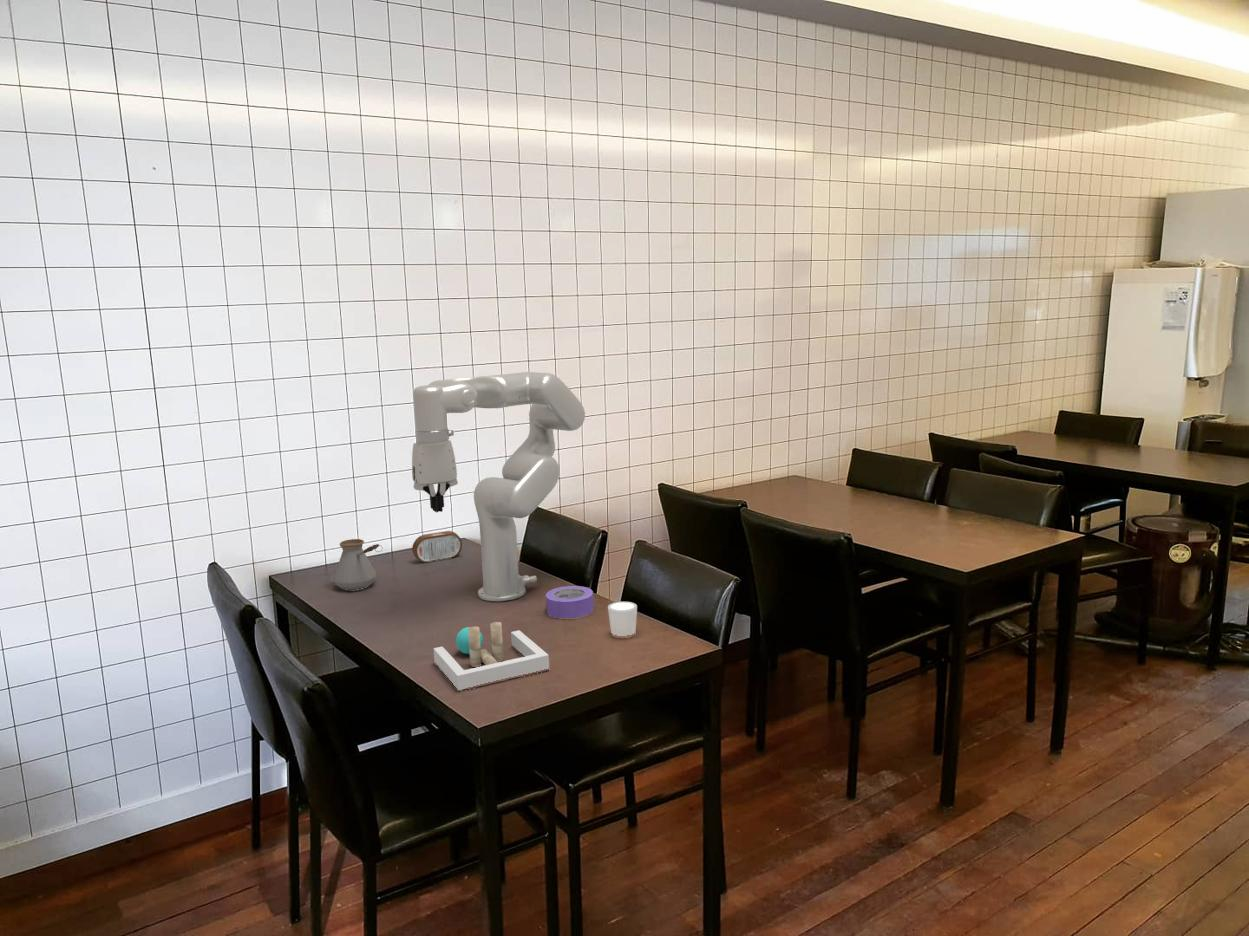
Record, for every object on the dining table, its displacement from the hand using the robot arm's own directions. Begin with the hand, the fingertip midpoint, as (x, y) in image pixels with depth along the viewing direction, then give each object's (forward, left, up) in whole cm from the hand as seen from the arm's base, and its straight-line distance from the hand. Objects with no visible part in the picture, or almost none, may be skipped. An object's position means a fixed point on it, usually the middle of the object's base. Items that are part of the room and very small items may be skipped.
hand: (437, 510), depth 227 cm
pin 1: (+4, +34, -27) cm, 44 cm away
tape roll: (-28, +14, -28) cm, 42 cm away
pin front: (+1, +31, -26) cm, 41 cm away
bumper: (+1, +36, -27) cm, 45 cm away
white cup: (-32, +35, -27) cm, 55 cm away
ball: (+2, +27, -24) cm, 36 cm away
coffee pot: (+13, -32, -27) cm, 44 cm away
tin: (-13, -49, -27) cm, 58 cm away
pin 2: (-1, +34, -27) cm, 44 cm away
